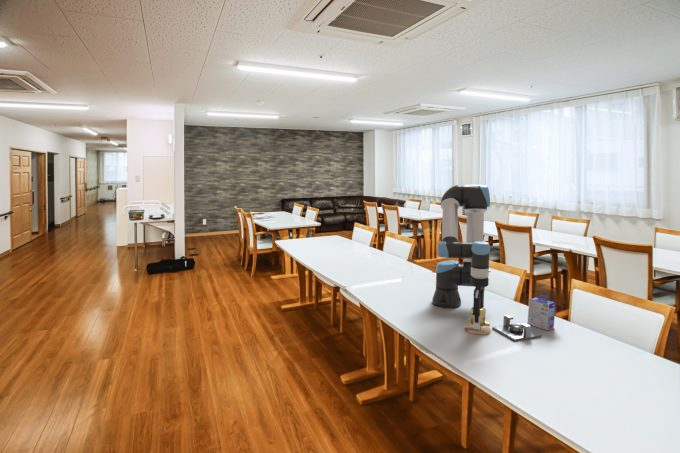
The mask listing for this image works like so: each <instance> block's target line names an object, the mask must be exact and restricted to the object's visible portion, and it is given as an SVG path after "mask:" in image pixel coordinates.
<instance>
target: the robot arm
mask: <svg viewBox="0 0 680 453" xmlns="http://www.w3.org/2000/svg"><path fill="white" fill-rule="evenodd" d="M490 194H491V193H490V190H489V187H488V186H487V185H485V184H456V185H454V186H450V188H448V189H447V190H445V192H444V194H443V195H442V197H441V200H440V208H441V210H442V222H441V224H442V227H441V228H442V229H441V232H442V233H441V234H442V235H441V241H438V242H437V256H438V257H439V258H445V259H447V258H449V259H451V260H443V261H439V262H438V263H437V264H436V266H435V267H436V268H435V273H436V274H435V290H434V293H433V296H432V298H431V299H432V300H431V303H432V304H433V305H434V306H437V307H440V308H444V309H445V308H448V309H453V308H458V307H461V306H462V300H461V296H460V293H459V286H460V287H474V289H473V306H472V307H473V313H472V315H474V322H473V329H477V330H480V307H482V308H485V304H484V303H485V288H486V287H488V286H489V284H490V283H489V282H490V281H489V280H490V278H489V274H490V273H491V270H490V256H491V255H490V252H491V245H490V243H489V242H487V241H484V227H485V226H484V225H485V224H484V223H485V222H484V221H485V213H486V211H487V210H488V208H489V207H491V195H490ZM460 207H463V211H464V212H465V213H466V233H465V234H466V236H465V237H466V239H465V240H466V241H459V212H458V210H459V208H460ZM452 258H453V259H463V260H462V263H460V262H459V261H458V260H453V259H452Z"/></svg>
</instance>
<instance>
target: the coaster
mask: <svg viewBox="0 0 680 453" xmlns="http://www.w3.org/2000/svg"><path fill="white" fill-rule="evenodd" d="M464 330H465V331H466V332H468V334H473V335H477V336H478V335H479V336H486V335H490V334H491V332H492V329H491V328H490V327H488V326H482V327H480V330H477V329H473V325H472V324H471V323H468V324H467V325H465V326H464Z"/></svg>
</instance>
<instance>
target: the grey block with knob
mask: <svg viewBox="0 0 680 453" xmlns="http://www.w3.org/2000/svg"><path fill="white" fill-rule="evenodd" d="M512 320H514V316H512V315H510V314H504V315H503V320H502V321H503V322H502V324H503V325H496V326H492V329H491V330H494V331H496V332H497V333H498V334H501V335H502V336H504V337H506V338H508V339H509V340H511V341H513V342H519V341H525V340H531V339H538V338H542V336H543V335H542V334H540V333H538V332H536V331H534V330H533V329H532V325H530V324H527V322H523V323H519V322H515V323H511V321H512Z"/></svg>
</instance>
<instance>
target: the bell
mask: <svg viewBox="0 0 680 453" xmlns="http://www.w3.org/2000/svg"><path fill="white" fill-rule="evenodd" d="M470 309H471V310H470V312H471V314H470V318H466V320H465V322H466V324H472V325H473V322H474V315H472V313H473V306H472V307H471V308H470ZM486 312H487V310H486V307H483V308H482V307H480V327H482V326H487V327H489V328H490V326H491V322H488V321H486Z"/></svg>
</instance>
